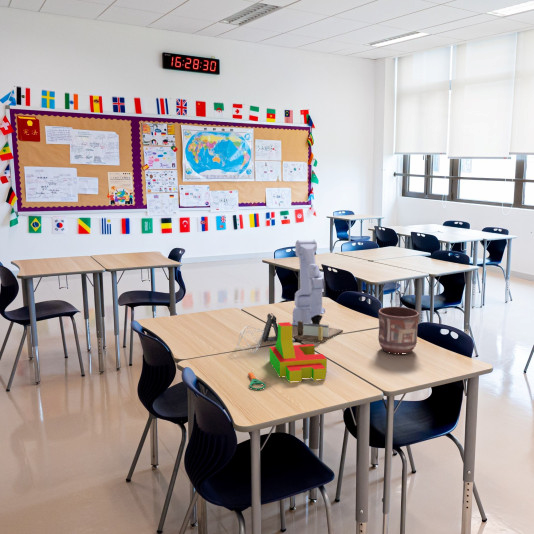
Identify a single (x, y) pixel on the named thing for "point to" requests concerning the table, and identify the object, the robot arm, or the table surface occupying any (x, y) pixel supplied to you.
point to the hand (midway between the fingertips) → (315, 330)
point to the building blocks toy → (296, 357)
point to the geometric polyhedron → (252, 335)
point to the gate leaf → (315, 329)
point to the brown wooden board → (300, 335)
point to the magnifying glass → (255, 381)
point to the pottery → (398, 329)
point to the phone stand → (268, 328)
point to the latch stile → (320, 333)
